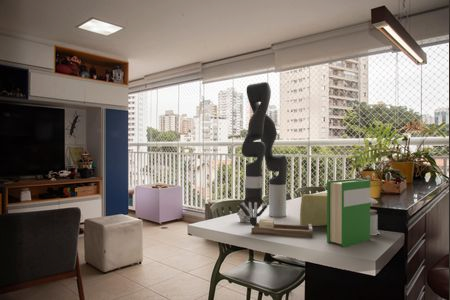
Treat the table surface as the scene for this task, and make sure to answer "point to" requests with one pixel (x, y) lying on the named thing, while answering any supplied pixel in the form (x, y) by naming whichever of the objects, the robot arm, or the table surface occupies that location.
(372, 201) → the french press
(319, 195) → the cheese
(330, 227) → the hardback book
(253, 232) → the chute
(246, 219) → the grey bumpy ball
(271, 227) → the maple block
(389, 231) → the table surface
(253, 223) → the robot arm
